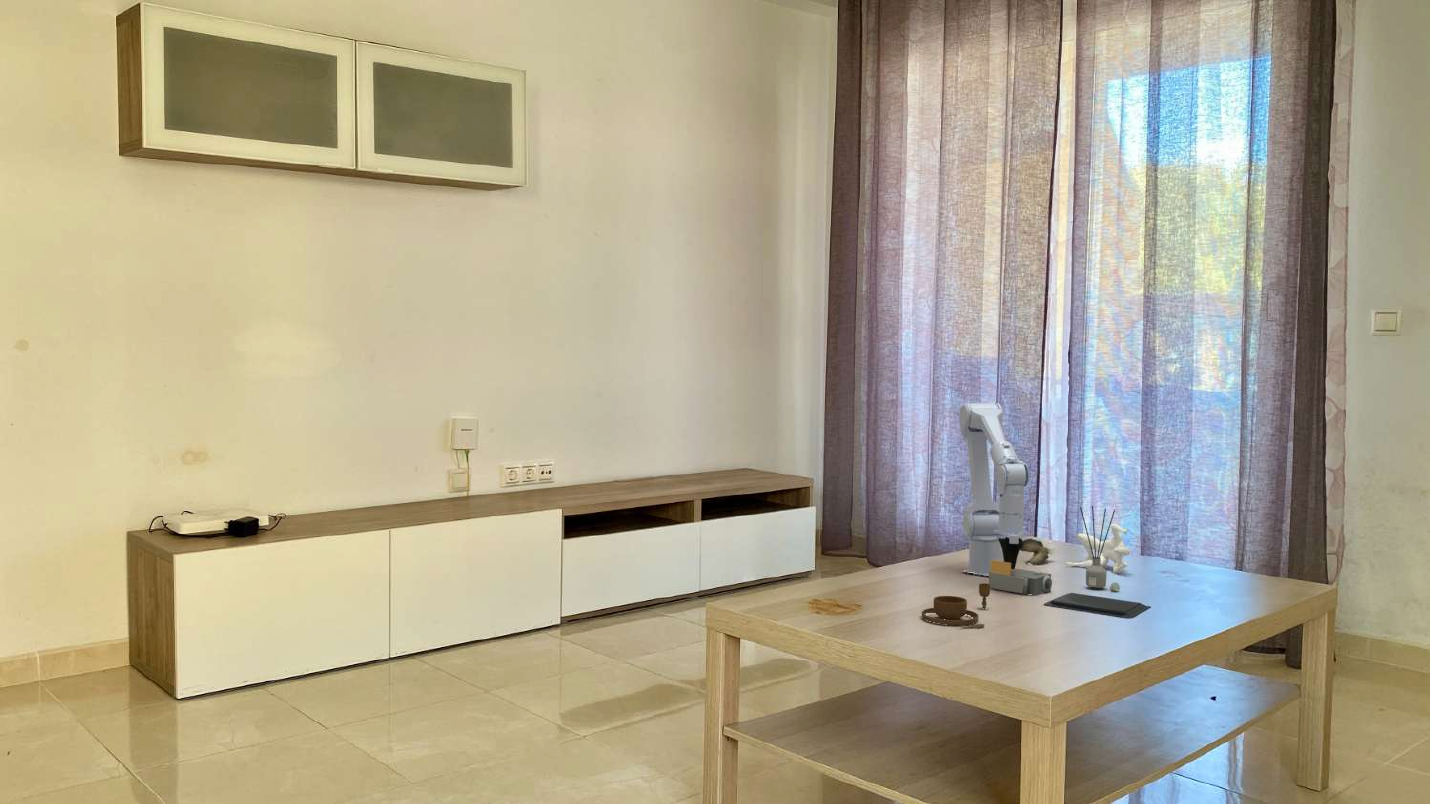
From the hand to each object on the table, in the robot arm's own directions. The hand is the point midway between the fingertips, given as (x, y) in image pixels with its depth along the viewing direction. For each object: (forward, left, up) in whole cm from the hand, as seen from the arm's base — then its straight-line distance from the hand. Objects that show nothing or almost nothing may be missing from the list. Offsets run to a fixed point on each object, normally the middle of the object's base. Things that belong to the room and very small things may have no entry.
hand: (1009, 568), depth 269 cm
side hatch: (+4, +2, -4) cm, 7 cm away
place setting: (+34, +8, -5) cm, 36 cm away
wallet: (+3, +23, -6) cm, 24 cm away
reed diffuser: (-16, +15, -5) cm, 23 cm away
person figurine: (-40, +6, -5) cm, 41 cm away
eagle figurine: (-36, -11, -5) cm, 38 cm away
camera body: (-1, +2, -5) cm, 5 cm away
